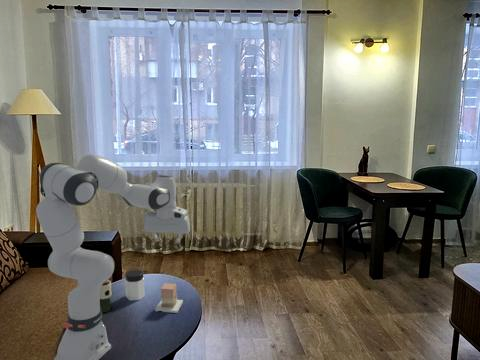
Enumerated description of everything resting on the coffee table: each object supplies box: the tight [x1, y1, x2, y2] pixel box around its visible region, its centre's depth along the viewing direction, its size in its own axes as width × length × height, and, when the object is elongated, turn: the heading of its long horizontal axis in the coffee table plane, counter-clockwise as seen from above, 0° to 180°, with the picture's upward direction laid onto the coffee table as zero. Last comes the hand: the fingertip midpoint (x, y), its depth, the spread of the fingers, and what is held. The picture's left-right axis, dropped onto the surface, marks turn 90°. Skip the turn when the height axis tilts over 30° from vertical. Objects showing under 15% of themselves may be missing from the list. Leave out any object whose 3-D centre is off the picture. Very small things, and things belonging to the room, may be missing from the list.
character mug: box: [100, 279, 113, 313], centre depth 182 cm, size 11×7×13 cm, turn 170°
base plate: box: [154, 299, 184, 314], centre depth 187 cm, size 10×10×1 cm
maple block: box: [160, 292, 178, 308], centre depth 186 cm, size 6×6×4 cm
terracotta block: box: [160, 282, 177, 299], centre depth 185 cm, size 6×6×4 cm
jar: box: [124, 269, 146, 301], centre depth 195 cm, size 9×8×12 cm
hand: (167, 241), depth 181 cm, fingers open, 8 cm apart
